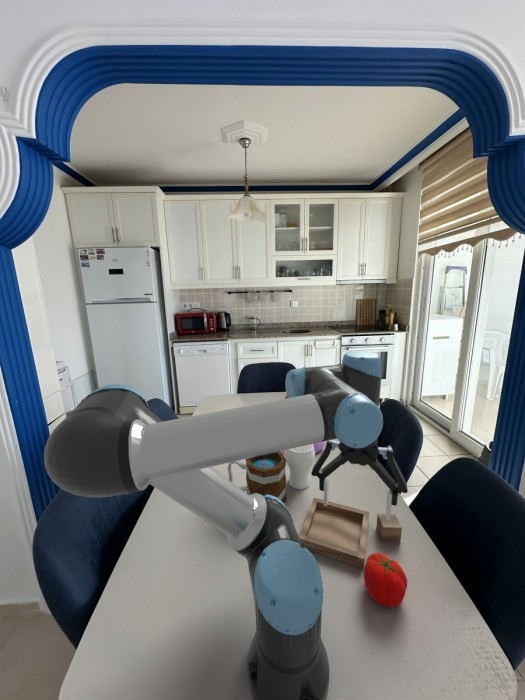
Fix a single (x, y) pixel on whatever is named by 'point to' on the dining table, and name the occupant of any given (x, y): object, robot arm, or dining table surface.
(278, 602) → the robot arm
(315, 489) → the dining table surface
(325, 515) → the tray
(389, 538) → the walnut block
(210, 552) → the dining table surface
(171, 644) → the dining table surface
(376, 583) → the tomato
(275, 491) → the mug
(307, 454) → the cup
